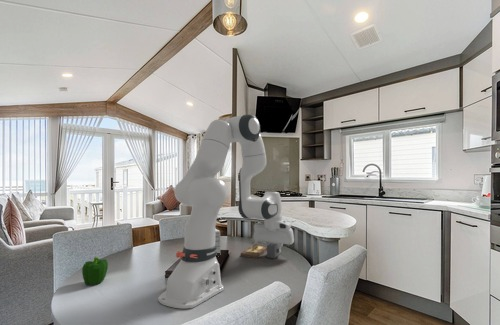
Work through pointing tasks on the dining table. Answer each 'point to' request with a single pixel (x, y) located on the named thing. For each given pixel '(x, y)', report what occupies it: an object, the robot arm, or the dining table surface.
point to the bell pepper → (94, 271)
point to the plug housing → (272, 250)
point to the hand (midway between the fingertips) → (273, 251)
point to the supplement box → (217, 240)
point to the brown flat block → (254, 250)
